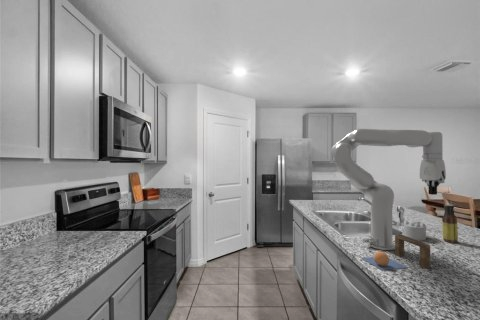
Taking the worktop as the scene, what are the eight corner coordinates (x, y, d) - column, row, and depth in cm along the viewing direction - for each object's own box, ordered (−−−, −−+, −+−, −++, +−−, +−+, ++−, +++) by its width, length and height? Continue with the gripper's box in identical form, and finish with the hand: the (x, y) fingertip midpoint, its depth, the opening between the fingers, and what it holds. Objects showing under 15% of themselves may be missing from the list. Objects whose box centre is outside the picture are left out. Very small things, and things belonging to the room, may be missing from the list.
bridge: (424, 268, 98) (424, 245, 98) (395, 254, 112) (395, 234, 112) (430, 267, 98) (430, 244, 98) (400, 254, 112) (400, 234, 113)
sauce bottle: (452, 239, 133) (451, 203, 133) (461, 243, 127) (461, 205, 127) (439, 239, 134) (439, 203, 134) (447, 243, 127) (447, 205, 128)
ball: (378, 260, 97) (387, 251, 98) (368, 255, 102) (377, 247, 103) (385, 270, 97) (394, 261, 98) (375, 265, 103) (384, 257, 104)
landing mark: (381, 270, 96) (381, 269, 96) (361, 258, 107) (361, 257, 107) (407, 268, 98) (407, 267, 98) (384, 256, 110) (384, 256, 110)
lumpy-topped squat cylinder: (425, 236, 140) (425, 221, 140) (426, 242, 130) (426, 226, 130) (404, 233, 146) (404, 218, 146) (402, 238, 136) (402, 223, 136)
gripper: (412, 157, 126) (412, 192, 126) (441, 156, 111) (441, 196, 111) (425, 157, 127) (425, 192, 127) (454, 156, 112) (455, 196, 112)
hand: (432, 194), depth 119 cm, fingers closed
